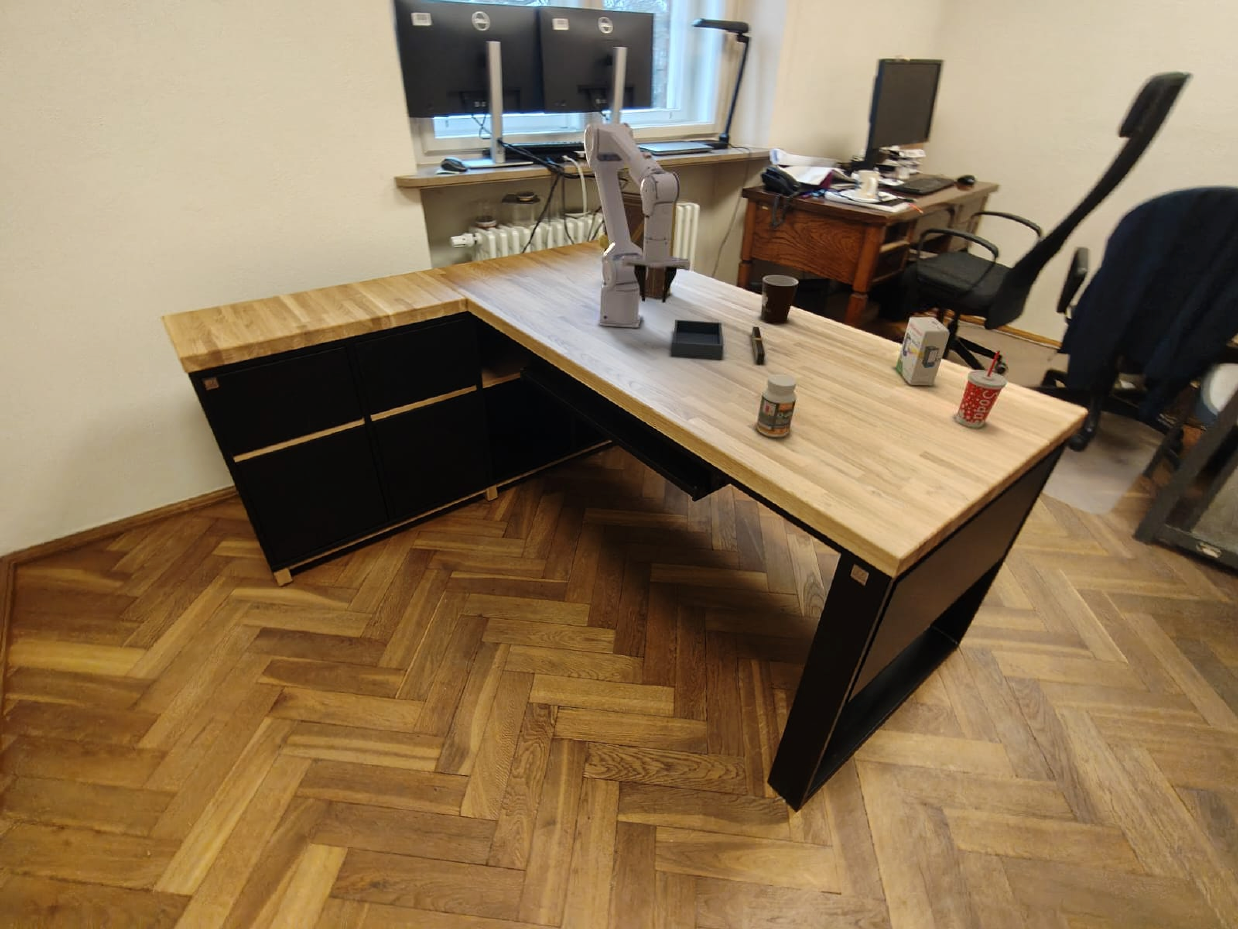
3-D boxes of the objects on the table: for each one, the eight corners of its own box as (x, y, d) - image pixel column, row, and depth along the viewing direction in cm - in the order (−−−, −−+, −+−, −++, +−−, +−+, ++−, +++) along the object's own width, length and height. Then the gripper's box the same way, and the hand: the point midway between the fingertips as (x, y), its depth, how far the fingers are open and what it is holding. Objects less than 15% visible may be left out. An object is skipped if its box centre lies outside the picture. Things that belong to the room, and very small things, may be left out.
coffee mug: (791, 326, 146) (799, 287, 140) (756, 323, 147) (762, 284, 141) (789, 311, 155) (797, 273, 149) (756, 308, 156) (762, 270, 151)
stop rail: (755, 363, 127) (757, 352, 125) (750, 336, 140) (752, 325, 139) (763, 364, 127) (765, 353, 125) (757, 336, 140) (759, 326, 138)
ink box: (933, 386, 120) (953, 331, 113) (908, 385, 120) (926, 331, 113) (917, 368, 127) (934, 316, 120) (893, 367, 127) (909, 315, 120)
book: (674, 292, 165) (681, 197, 151) (659, 300, 159) (666, 202, 145) (609, 278, 175) (610, 187, 161) (593, 285, 169) (593, 191, 155)
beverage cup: (952, 425, 107) (981, 354, 99) (949, 410, 112) (977, 341, 104) (989, 432, 105) (1022, 360, 97) (985, 416, 110) (1015, 347, 102)
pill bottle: (778, 442, 101) (789, 390, 95) (749, 430, 104) (758, 379, 98) (794, 429, 104) (805, 379, 99) (766, 418, 107) (775, 369, 102)
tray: (671, 356, 129) (672, 342, 127) (674, 332, 141) (675, 319, 139) (721, 359, 128) (723, 345, 127) (719, 335, 140) (721, 322, 138)
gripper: (621, 239, 119) (619, 304, 127) (691, 243, 118) (686, 308, 126) (624, 231, 125) (623, 294, 133) (692, 235, 124) (686, 298, 132)
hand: (653, 300), depth 130 cm, fingers open, 4 cm apart
